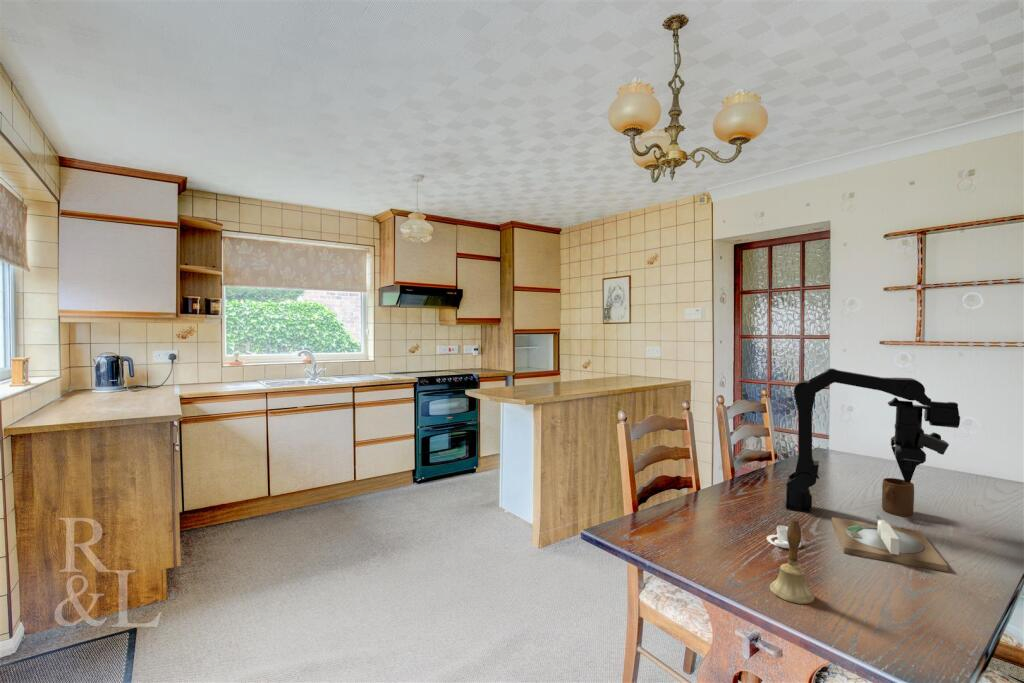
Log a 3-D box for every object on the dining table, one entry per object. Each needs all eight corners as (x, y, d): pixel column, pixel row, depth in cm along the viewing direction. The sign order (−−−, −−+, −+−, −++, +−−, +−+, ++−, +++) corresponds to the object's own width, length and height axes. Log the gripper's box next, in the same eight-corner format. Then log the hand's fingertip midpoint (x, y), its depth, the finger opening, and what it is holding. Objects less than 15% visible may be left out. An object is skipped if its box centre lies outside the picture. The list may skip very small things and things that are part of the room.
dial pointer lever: (871, 526, 132) (871, 511, 132) (883, 528, 131) (883, 513, 131) (887, 554, 116) (888, 537, 116) (901, 556, 115) (901, 539, 115)
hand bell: (798, 582, 107) (800, 511, 106) (823, 604, 98) (825, 527, 98) (761, 582, 106) (763, 512, 106) (784, 604, 98) (786, 527, 98)
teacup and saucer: (786, 553, 121) (787, 537, 121) (758, 540, 128) (758, 525, 128) (807, 546, 125) (808, 530, 125) (778, 534, 132) (779, 519, 132)
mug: (901, 522, 139) (902, 490, 139) (871, 513, 146) (872, 482, 145) (917, 513, 146) (918, 482, 145) (887, 505, 152) (888, 476, 152)
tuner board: (843, 553, 120) (844, 545, 120) (831, 522, 139) (831, 515, 139) (947, 571, 111) (947, 563, 111) (919, 536, 130) (919, 529, 130)
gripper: (953, 433, 123) (949, 493, 123) (941, 421, 138) (938, 475, 139) (897, 427, 129) (894, 484, 130) (891, 416, 144) (889, 467, 145)
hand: (905, 477), depth 136 cm, fingers open, 9 cm apart
